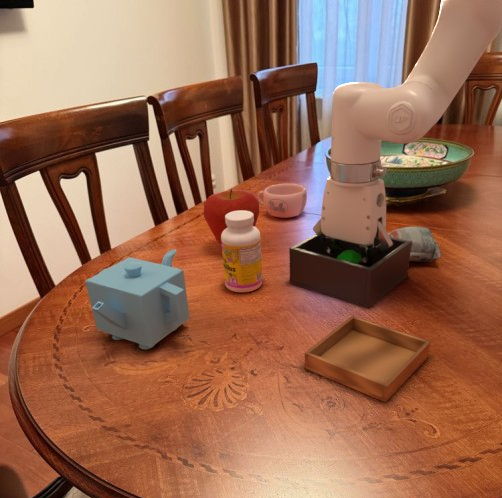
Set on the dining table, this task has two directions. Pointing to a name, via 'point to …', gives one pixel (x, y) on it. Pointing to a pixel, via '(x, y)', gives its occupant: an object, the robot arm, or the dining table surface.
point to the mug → (284, 200)
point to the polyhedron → (350, 256)
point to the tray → (367, 357)
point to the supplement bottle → (241, 252)
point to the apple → (228, 208)
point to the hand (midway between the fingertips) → (349, 275)
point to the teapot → (139, 300)
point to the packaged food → (419, 243)
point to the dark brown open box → (349, 270)
